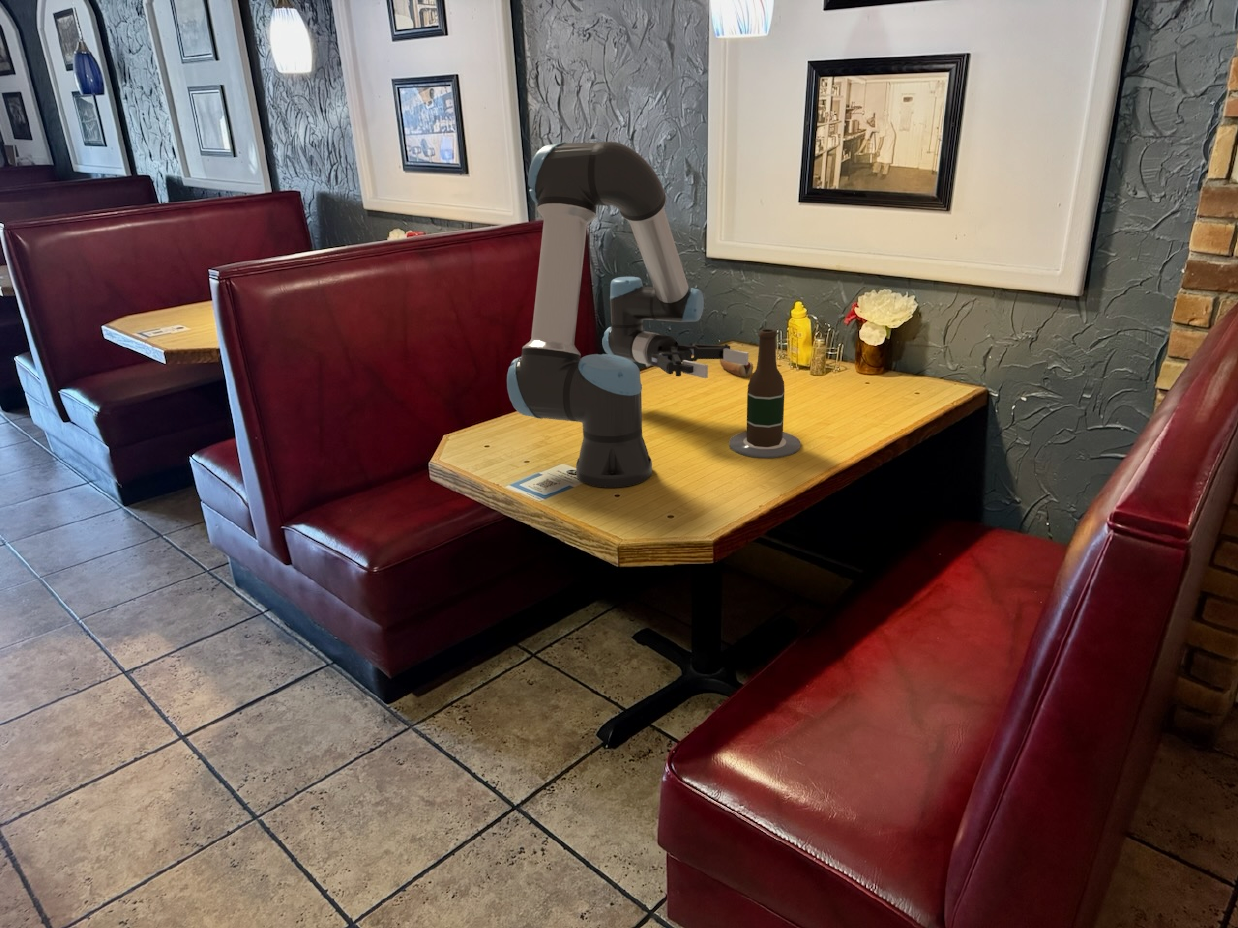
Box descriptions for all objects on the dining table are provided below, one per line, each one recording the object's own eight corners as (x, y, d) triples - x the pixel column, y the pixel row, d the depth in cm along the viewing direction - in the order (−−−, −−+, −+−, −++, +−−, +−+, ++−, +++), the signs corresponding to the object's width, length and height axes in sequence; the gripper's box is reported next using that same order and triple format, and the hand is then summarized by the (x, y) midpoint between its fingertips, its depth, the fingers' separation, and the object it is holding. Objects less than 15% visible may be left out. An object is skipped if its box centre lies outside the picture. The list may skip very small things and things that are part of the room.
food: (715, 367, 239) (715, 350, 237) (732, 365, 241) (733, 348, 239) (738, 380, 227) (739, 362, 225) (756, 377, 228) (757, 359, 226)
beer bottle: (790, 440, 180) (794, 329, 171) (769, 450, 175) (773, 336, 166) (759, 432, 185) (762, 324, 176) (738, 442, 180) (740, 331, 171)
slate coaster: (772, 463, 170) (772, 459, 170) (714, 446, 181) (714, 442, 180) (814, 443, 180) (814, 439, 180) (757, 428, 190) (758, 424, 190)
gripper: (692, 355, 205) (762, 370, 191) (618, 377, 189) (688, 394, 175) (692, 325, 202) (763, 337, 188) (616, 344, 187) (688, 359, 172)
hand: (727, 365), depth 181 cm, fingers open, 13 cm apart
